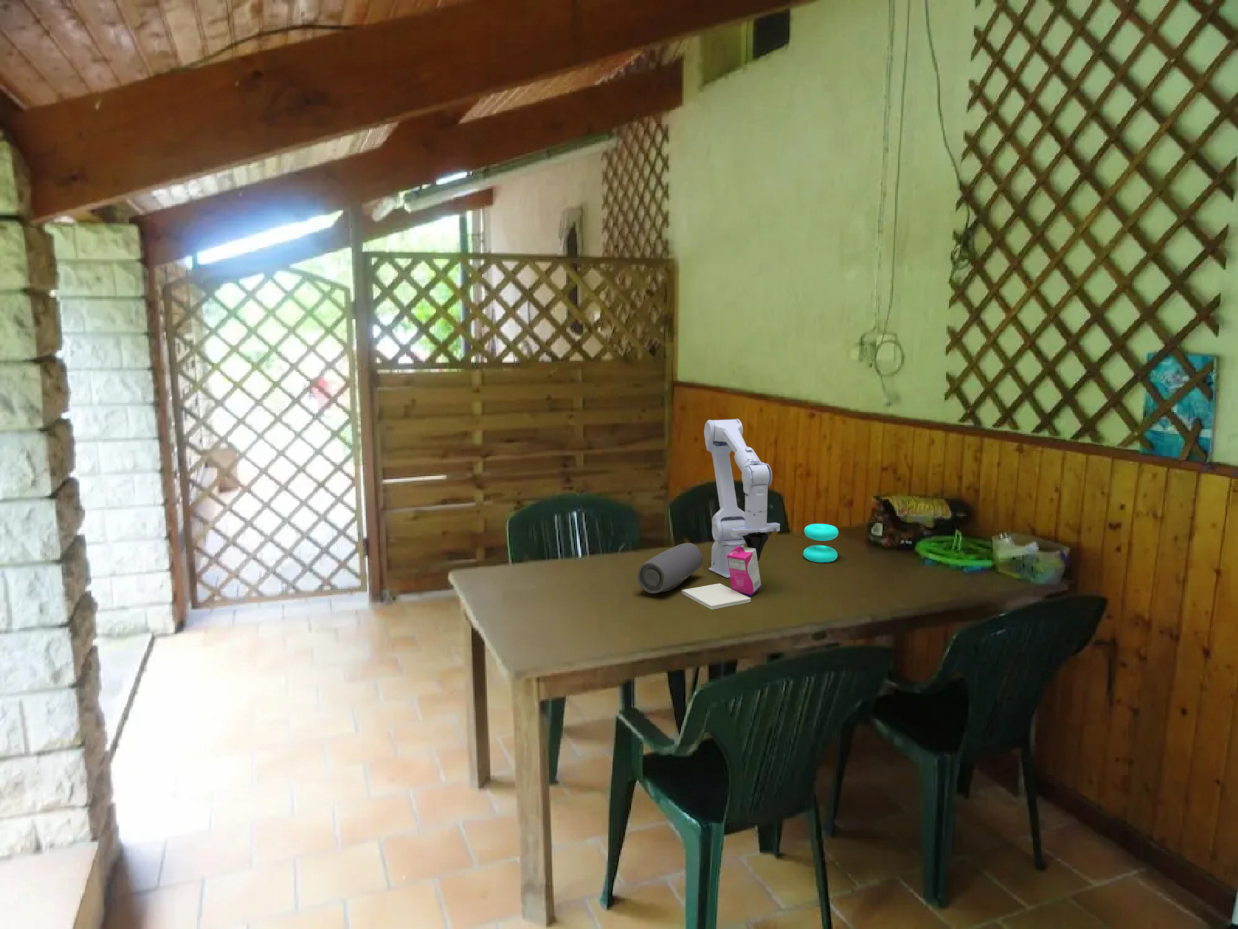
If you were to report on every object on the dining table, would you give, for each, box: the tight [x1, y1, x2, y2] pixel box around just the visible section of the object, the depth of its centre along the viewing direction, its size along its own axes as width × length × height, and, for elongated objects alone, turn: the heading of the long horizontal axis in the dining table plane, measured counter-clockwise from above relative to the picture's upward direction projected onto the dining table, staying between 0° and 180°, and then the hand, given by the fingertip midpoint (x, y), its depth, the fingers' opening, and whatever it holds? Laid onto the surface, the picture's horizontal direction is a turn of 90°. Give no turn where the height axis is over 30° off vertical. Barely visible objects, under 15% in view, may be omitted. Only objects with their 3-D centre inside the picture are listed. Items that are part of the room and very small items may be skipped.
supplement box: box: [727, 546, 762, 598], centre depth 216 cm, size 6×6×12 cm
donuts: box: [803, 523, 839, 564], centre depth 248 cm, size 10×10×10 cm
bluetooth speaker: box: [636, 542, 704, 594], centre depth 223 cm, size 23×9×10 cm, turn 149°
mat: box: [681, 583, 752, 610], centre depth 214 cm, size 14×12×1 cm
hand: (754, 560), depth 218 cm, fingers closed
